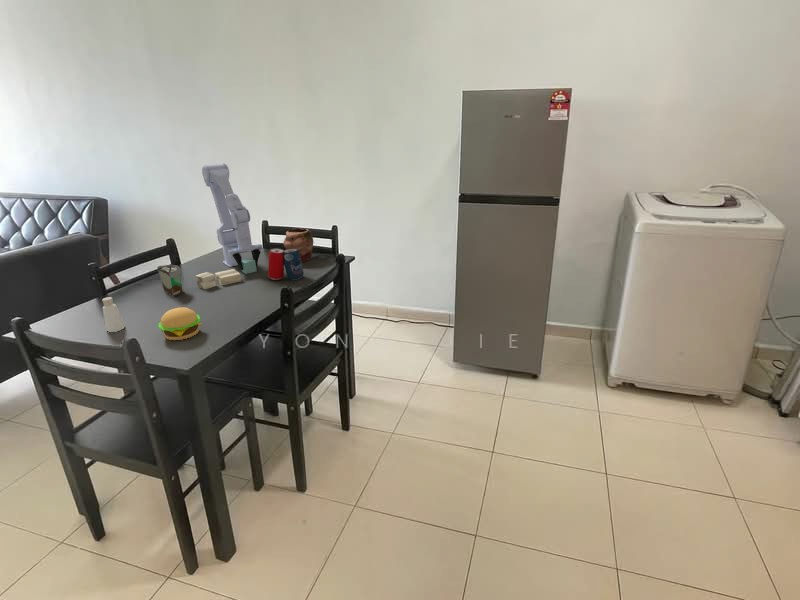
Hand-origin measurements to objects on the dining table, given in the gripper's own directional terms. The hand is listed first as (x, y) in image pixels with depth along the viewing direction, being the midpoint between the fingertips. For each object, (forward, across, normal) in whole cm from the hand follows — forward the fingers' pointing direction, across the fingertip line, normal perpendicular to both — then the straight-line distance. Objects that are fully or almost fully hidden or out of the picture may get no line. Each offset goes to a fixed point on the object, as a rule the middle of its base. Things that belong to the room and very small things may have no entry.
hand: (248, 268), depth 198 cm
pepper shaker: (+2, -55, -28) cm, 62 cm away
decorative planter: (+2, +26, +1) cm, 26 cm away
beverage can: (+1, +5, -18) cm, 18 cm away
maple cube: (+2, -20, -7) cm, 21 cm away
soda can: (+1, +12, -22) cm, 25 cm away
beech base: (+2, -11, -6) cm, 13 cm away
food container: (+2, -31, -5) cm, 31 cm away
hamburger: (+2, -39, -46) cm, 60 cm away
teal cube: (+2, 0, 0) cm, 2 cm away
